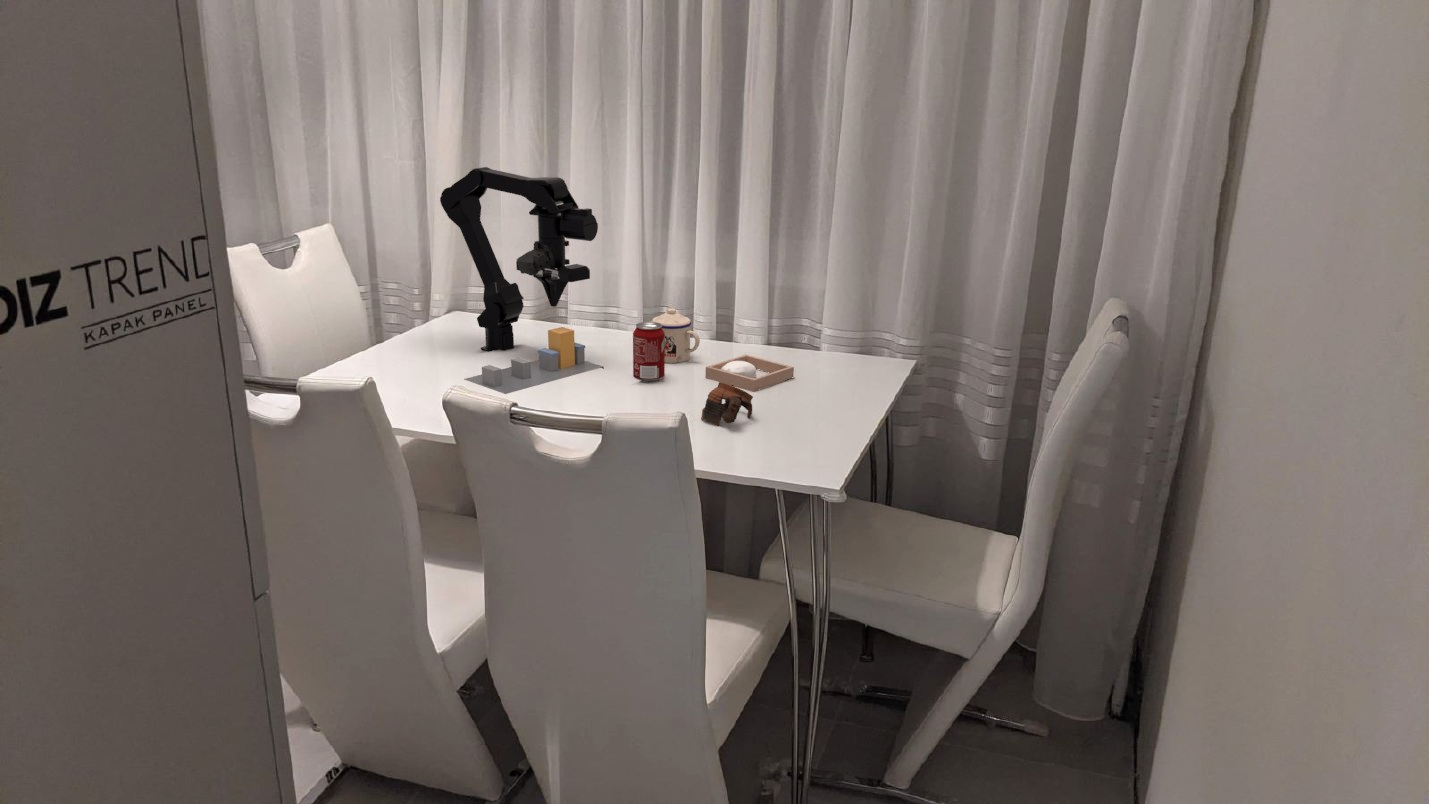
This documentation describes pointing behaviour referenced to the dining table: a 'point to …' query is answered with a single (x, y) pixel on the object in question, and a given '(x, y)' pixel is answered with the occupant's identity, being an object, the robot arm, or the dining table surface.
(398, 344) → the dining table surface
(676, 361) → the teacup with lid
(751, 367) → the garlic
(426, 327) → the dining table surface
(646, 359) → the soda can
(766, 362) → the garlic dish
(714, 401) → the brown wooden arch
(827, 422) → the dining table surface
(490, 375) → the grey board with pegs
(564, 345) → the orange rectangular block
